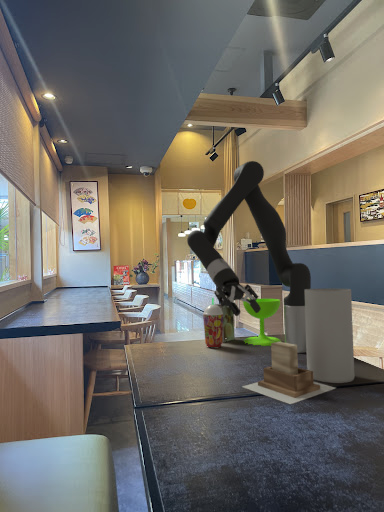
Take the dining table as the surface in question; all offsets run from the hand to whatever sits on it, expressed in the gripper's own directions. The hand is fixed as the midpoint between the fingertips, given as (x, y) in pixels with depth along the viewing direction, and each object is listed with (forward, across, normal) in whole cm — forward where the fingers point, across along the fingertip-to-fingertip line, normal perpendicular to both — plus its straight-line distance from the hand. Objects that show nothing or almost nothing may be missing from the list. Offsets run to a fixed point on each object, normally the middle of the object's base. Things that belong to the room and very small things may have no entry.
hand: (248, 312), depth 110 cm
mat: (+25, -4, +1) cm, 25 cm away
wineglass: (-8, +37, +35) cm, 51 cm away
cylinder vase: (+26, +13, 0) cm, 29 cm away
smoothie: (-12, +15, +39) cm, 43 cm away
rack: (+24, -4, +1) cm, 25 cm away
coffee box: (-18, +27, +44) cm, 55 cm away
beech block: (+23, -4, +1) cm, 23 cm away
